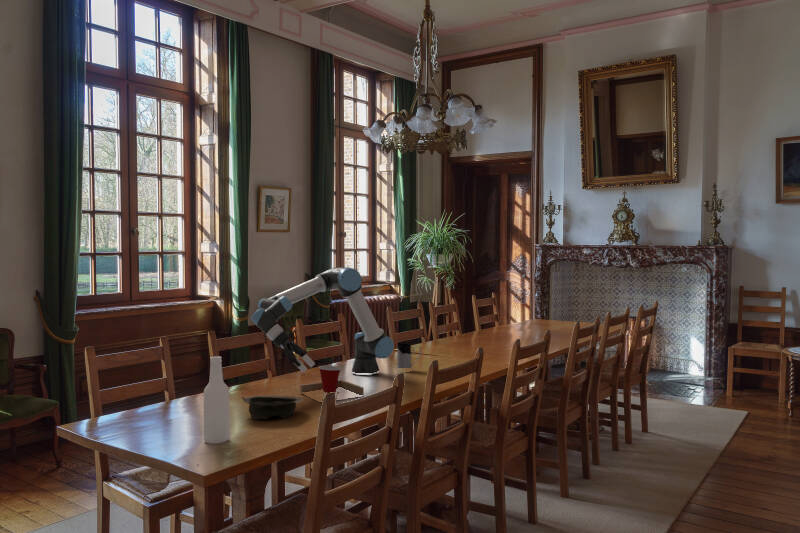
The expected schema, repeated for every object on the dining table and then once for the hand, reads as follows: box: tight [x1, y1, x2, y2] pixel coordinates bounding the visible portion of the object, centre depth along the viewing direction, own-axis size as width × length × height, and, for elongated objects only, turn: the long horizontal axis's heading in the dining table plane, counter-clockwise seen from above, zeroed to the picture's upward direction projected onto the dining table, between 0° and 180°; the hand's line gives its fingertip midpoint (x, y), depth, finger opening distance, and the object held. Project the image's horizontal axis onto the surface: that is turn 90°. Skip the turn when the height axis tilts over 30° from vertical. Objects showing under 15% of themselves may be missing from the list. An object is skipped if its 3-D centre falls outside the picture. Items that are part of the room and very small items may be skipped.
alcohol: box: [203, 355, 231, 445], centre depth 227 cm, size 9×9×30 cm
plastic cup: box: [318, 365, 342, 393], centre depth 301 cm, size 11×11×12 cm
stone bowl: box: [242, 395, 304, 421], centre depth 262 cm, size 25×25×9 cm
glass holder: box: [396, 343, 422, 369], centre depth 359 cm, size 9×14×15 cm, turn 107°
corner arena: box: [299, 379, 365, 401], centre depth 298 cm, size 22×22×4 cm
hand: (309, 368), depth 299 cm, fingers open, 13 cm apart
